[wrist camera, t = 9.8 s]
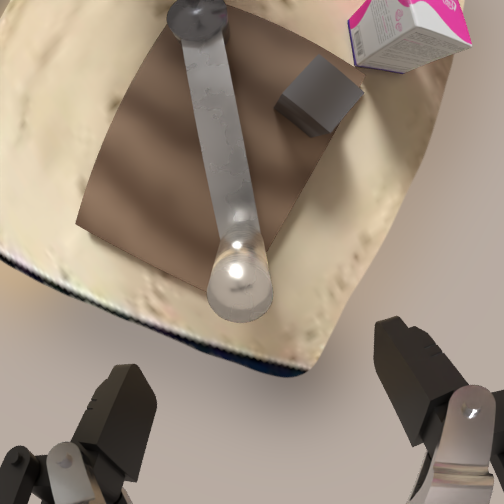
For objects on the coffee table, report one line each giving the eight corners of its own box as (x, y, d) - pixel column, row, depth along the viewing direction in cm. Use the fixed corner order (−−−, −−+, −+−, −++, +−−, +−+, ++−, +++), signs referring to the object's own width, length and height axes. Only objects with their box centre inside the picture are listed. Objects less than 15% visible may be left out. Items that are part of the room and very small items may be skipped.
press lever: (176, 22, 18) (134, -49, 7) (225, 11, 18) (213, -69, 7) (221, 253, 25) (204, 328, 14) (270, 244, 25) (289, 315, 14)
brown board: (193, 2, 19) (177, -40, 12) (358, 79, 22) (396, 57, 15) (84, 219, 26) (40, 242, 19) (236, 295, 29) (233, 342, 22)
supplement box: (404, 75, 22) (475, 50, 11) (353, 67, 22) (412, 27, 11) (396, 28, 20) (456, -10, 9) (346, 19, 20) (393, -35, 9)
